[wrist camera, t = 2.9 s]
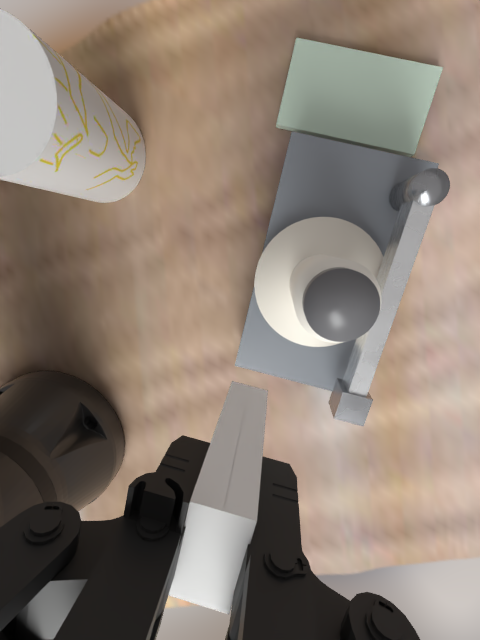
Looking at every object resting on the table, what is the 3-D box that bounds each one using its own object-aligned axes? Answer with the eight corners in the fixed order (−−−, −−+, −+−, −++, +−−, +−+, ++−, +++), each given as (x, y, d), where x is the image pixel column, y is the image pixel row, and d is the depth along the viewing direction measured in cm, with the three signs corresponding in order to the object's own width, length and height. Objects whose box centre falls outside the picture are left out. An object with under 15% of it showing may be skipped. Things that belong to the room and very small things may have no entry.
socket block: (241, 347, 32) (234, 365, 27) (289, 151, 28) (291, 131, 23) (344, 373, 31) (357, 397, 26) (410, 178, 27) (438, 163, 22)
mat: (276, 127, 27) (276, 124, 26) (295, 43, 26) (296, 37, 25) (410, 157, 27) (414, 154, 26) (437, 72, 25) (443, 67, 24)
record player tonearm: (325, 392, 26) (334, 418, 22) (394, 178, 22) (419, 164, 19) (350, 399, 26) (363, 426, 22) (424, 185, 22) (455, 172, 18)
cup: (145, 205, 30) (61, 180, 18) (60, 200, 31) (-74, 173, 19) (145, 103, 28) (51, 3, 16) (54, 100, 29) (-98, 3, 17)
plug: (248, 314, 30) (223, 371, 17) (273, 210, 28) (269, 179, 14) (347, 339, 30) (406, 419, 16) (380, 236, 28) (482, 228, 14)
